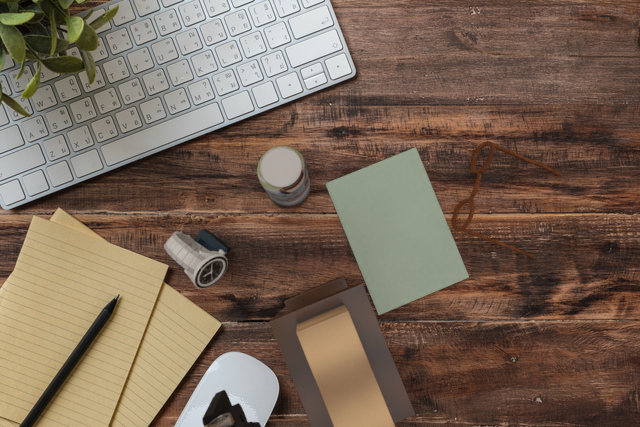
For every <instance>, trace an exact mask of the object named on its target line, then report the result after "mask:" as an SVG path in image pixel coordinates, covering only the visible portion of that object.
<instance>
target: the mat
mask: <svg viewBox="0 0 640 427" xmlns="http://www.w3.org/2000/svg"><path fill="white" fill-rule="evenodd" d="M419 153H420V152H419V151H418V149H417V146H415V147H413V148H410V149H407V150H405V151H403V152H400V153H397V154H395V155H392V156H390V157H387V158H385V159H383V160H380V161H377V162H375V163H373V164H370V165H367V166H365V167H363V168H360V169H358V170H355V171H353V172H350V173H347V174H346V175H343V176H341V177H338V178H335V179H332V180H330V181H328V182H326V183H324V184H325V187H326V190H327V192H328V195H329V197H330V200H331V202H332V204H333V207H334V209H335V211H336V214H337V217H338V219H339V222H340V224H341V227H342V229H343V232H344V234H345V237H346V239H347V241H348V244H349V246H350V249H351V251H352V253H353V256H354V259H355V260H356V265H357V266H358V268H359V271H360V273H361V276H362V278H363V281H364V283H365V285H366V288H367V290H368V294H369V295H370V298H371V300H372V303H373V305H374V308H375V310H376V314H377V315H378V316H381V315H383V314H386V313H388V312H390V311H393V310H395V309H397V308H400V307H402V306H405V305H407V304H409V303H412V302H414V301H417V300H420V299H422V298H423V297H426V296H428V295H431V294H433V293H436V292H438V291H440V290H442V289H445V288H447V287H450V286H452V285H454V284H457V283H459V282H461V281H464V280H466V279H469V278H470V275H469V272H468V270H467V267H466V266H465V263H464V261H463V258H462V256H461V254H460V251H459V248H458V246H457V243H456V241H455V238H454V236H453V233H452V232H451V229H450V226H449V224H448V222H447V219H446V217H445V215H444V214H445V213H444V211H443V210H442V207H441V205H440V202H439V200H438V197H437V195H436V192H435V190H434V187H433V185H432V182H431V181H430V180H431V179H430V178H429V175H428V173H427V171H426V168H425V166H424V163H423V161H422V158H421V156H420V154H419Z"/></svg>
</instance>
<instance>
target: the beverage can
mask: <svg viewBox="0 0 640 427" xmlns="http://www.w3.org/2000/svg"><path fill="white" fill-rule="evenodd" d="M256 174H257V178H258V181H259V183H260V185H261V187H262V188H263V190H264V191H265V192H266V194H267V196H268V197H269V199H270V201H271V202H272V203H273V205H275V206H277V207H279V208H281V209H285V210H291V209H296V208H298V207H300V206H302V205H303V204H304V203H305V202H306V201H307V200H308V198H309V196H310V194H311V189H312V188H311V187H312V186H311V181H310V175H309V168H308V165H307V161H306V159H305V157H304V156H303V155H302V153H301V152H300V151H299V150H297V149H296V148H293V147H292V146H291V147H290V146H288V145H277V146H274V147H272V148H269V149H268V150H267V151H265V152H264V153H263V154H262V155H261V157H260V159H259V160H258V163H257V168H256Z"/></svg>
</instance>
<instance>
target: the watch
mask: <svg viewBox="0 0 640 427" xmlns="http://www.w3.org/2000/svg"><path fill="white" fill-rule="evenodd" d="M163 247H164V248H163V249H164V250H165V251H166V253H167V254H168V256H169V257H171V259H172V260H174V261H175V262H176V263H177V264H178V265H179V266H181V267H182V268H183V269H184V270H183V272H184V273H185V275H186V276H187V277H188V278H189V280H190V281H191V282H192V284H193V285H194V286H195V288H197V289H199V290H203V289H208V288H210V287H212V286H214V285H216V283H218V282H219V281H220V280H221V279H222V278H223V277H224V275H225V274H226V272H227V270H228V266H229V265H228V264H229V263H228V262H229V260H228V258H227V257H226V255H227V254H228V252H229V251H230V250H231V249H232V248H231V247H230V246H229V245H228V244H226V243H225V241H223V240H221V239H220V238H219V237H217V235H215V234H214V233H213V232H211V231H210V230H209V229H207V228H202V229H201V230H200V231H199V232H198V234H196V236H195V237H194V238H193V237H191V236H190V234H188V235H187V234H186V233H183V232H181V231H178V230H176V231H174V232H173V233H172V234H171V236H170V237H169V238H168V239H167V241H166V242H165V243H164V244H163Z"/></svg>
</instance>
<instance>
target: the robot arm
mask: <svg viewBox="0 0 640 427" xmlns="http://www.w3.org/2000/svg"><path fill="white" fill-rule="evenodd" d="M244 411H245V410H244V409H243V407H242V404H240V402H238V403H235V404H232V402H231V400H230V397H229V395H228V392H227V391H226V389H222V390H220V391H218V392H215V394H214V396H213V397H212V399H211V400H210V403H209V404H208V407H207V408H206V411H205V413H204V415H203V416H202V424H203V427H262V425H261V423H260V422H258V421H248V419H247V416H246V413H245V412H244Z"/></svg>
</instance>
